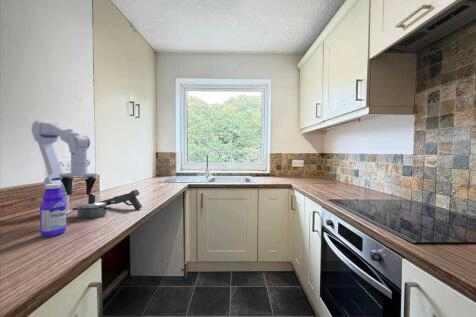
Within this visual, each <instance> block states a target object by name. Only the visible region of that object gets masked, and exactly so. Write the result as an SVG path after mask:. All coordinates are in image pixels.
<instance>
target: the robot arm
mask: <svg viewBox="0 0 476 317" xmlns="http://www.w3.org/2000/svg"><path fill="white" fill-rule="evenodd" d="M31 133H32V137H33V139H34V141H35V142H37V145H38V147H39V149H40V153H41V156H42V159H43V162H44V165H45V168H46V171H47V173H48V175H47V176H46V177H45V178H44V180H43V184H44V185H43V188H44V191H45V185H47V184H60V190H61V193H62V195H63V198H62V199H63V200H64V202H65V204H66V215H67V214H70V213H72V212H74V210H72V209H71V210H70V196H71V195H72V193H73V189H74V186H75V184H74V181H73V180H74V179H85V180H84V181H85V185H86V188H85V189H86V196H89V195H90V194H92V193H91V192H92V189H93V187H94V184H95V183H96V181H97V179H99V177H98V176H99V174H98V173H92V172H91V173H90V172H89V173H88V169H87V168H88V152H87V151H88V149H89V147H90V146H91V141H90V138H89V137H88V136H87V135H80V134H79V132H76V131H74V130H73V129H72V128H67V129H65V128H64V127H62V124H60V123H58V122H55V123H54V122H46V121H40V120H39V121H38V120H34V122H33V123H32V125H31ZM59 138H60V140H61V141H63V142H64V143H66V144H67V146H68V150H69V153H70V172H69V173H65V172H63V170H62V168H61V165H60V161H59V159H58V156H57V153H56V151H55V147H54V143H56V142H57V141H58V139H59ZM42 202H43V199H42ZM42 202H41V203H42Z"/></svg>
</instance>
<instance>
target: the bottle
mask: <svg viewBox="0 0 476 317" xmlns="http://www.w3.org/2000/svg"><path fill="white" fill-rule="evenodd" d="M41 198H42V200H43V202H41V204H40V206H39V219H40V221H39V222H40V223H39V226H40V227H39V228H40V231H39V232H40V235H41V236H42V237H47V238H50V237H54V236H55V237H56V236H58V235H61V234H63V233H65V232H66V230H67V217H66V216H67V214H66V204H65V202H64V200H63V199H62V198H63V195H62V193H61V190H60V184H47V185H45V190H44V194H43V196H42V197H41Z"/></svg>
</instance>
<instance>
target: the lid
mask: <svg viewBox="0 0 476 317" xmlns="http://www.w3.org/2000/svg"><path fill="white" fill-rule="evenodd" d="M87 196H88V199H87V202H80V203H79V202H78V203H75V208H77V207H81V209H95V208H100V207H102V206H105V205H106V202H100V201H96V193H91V194H90V195H87Z"/></svg>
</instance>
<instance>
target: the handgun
mask: <svg viewBox="0 0 476 317" xmlns="http://www.w3.org/2000/svg"><path fill="white" fill-rule="evenodd" d="M139 195H140V192H139V190H138V189H134V190H131V191H130V192H129V193H128V192H127V193H125V194H121V195H116V196H113V197H112V198H111V197H110V198H107V199H105V200H104V199H103V200H100V201H99V202H106V207H108V206H112V205H116V204H117V205H118V204H120V203H123V204H125V205H126V206H133V208H134V209H135V210H136V211H138V210H140V209H141V208H142V207H143V205H142V204H141V202H140V201H139V200H138V197H137V196H139Z"/></svg>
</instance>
